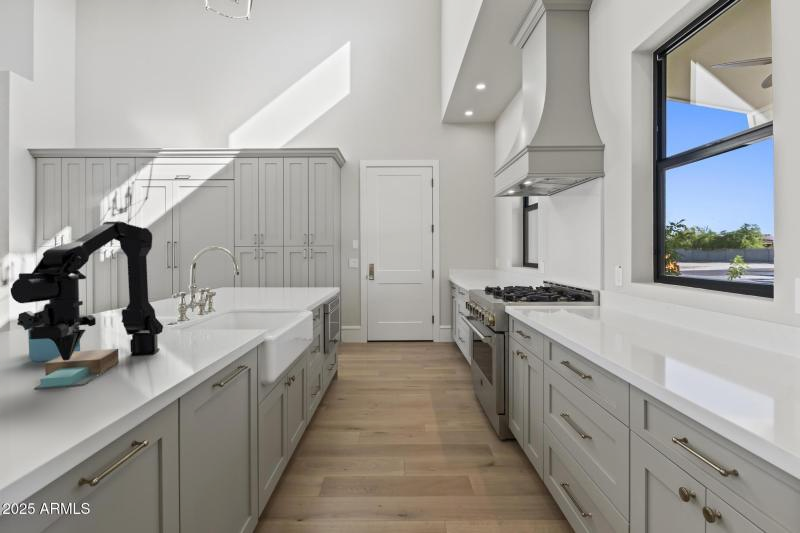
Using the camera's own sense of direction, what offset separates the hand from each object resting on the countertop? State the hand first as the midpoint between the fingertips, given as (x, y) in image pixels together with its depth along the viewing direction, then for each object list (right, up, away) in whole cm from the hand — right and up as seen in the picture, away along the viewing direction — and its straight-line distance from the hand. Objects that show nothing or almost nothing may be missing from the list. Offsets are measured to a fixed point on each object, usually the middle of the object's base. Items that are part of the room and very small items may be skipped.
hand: (66, 360), depth 100 cm
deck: (-3, -5, +9) cm, 10 cm away
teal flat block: (+1, -5, -1) cm, 5 cm away
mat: (+1, -5, 0) cm, 5 cm away
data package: (-20, -5, +20) cm, 29 cm away
